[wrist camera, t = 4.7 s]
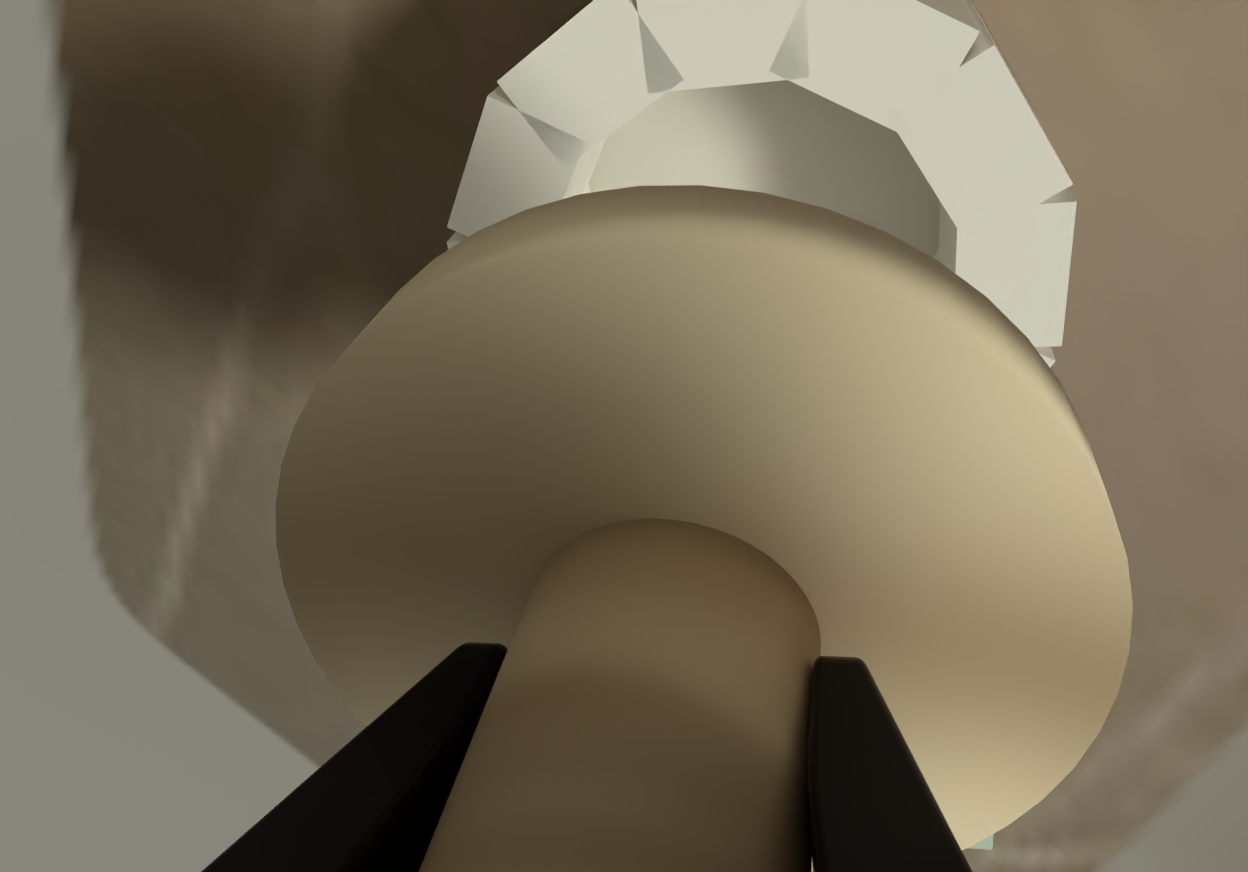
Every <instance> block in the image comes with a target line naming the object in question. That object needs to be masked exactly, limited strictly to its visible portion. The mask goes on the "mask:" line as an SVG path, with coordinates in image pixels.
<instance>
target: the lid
mask: <svg viewBox="0 0 1248 872" xmlns="http://www.w3.org/2000/svg"><path fill="white" fill-rule="evenodd" d="M276 537H277V550H278V555H279V561H280V566H281V571H282V577H283V582H284V586H285V589H286V592H287V595H288V598H289V601H290V604H291V607H292V610H293V613H294V616H295V619H296V622H297V624H298V626H299V628H300V630H301V632H302V634H303V636H304V638H305V640H306V642H307V644H308V646H309V648H310V650H311V652H312V654H313V656H314V658H315V660H316V662H317V663H318V665H319V666H320V668H321V669H322V671H323V672H324V674H325V675H326V677H327V678H328V680H329V681H330V683H331V684H332V686H333V687H334V689H335V691H336V692H337V694H338V695H339V696H340V697H341V698H342V700H343V701H344V702H345V703H346V704H347V706H348V707H349V708H350V709H351V710H352V712H353V713H354V714H355V715H356V717H357V718H358V719H359V720H360V721H361V723H362V724H363V725H364V726H365V727H367V726H368V725H369V724H370V723H372V722H373V721H374V720H375V719H376V718H377V717H378V716H380V715H381V714H382V713H383V712H384V711H385V710H386V709H388V708H389V707H390V706H391V705H392V704H393V703H394V702H396V701H397V700H398V699H399V698H400V697H401V696H402V695H404V694H405V693H406V692H407V691H408V690H409V689H410V688H412V687H413V686H414V685H415V684H416V683H417V682H418V681H420V680H421V679H422V678H423V677H424V676H425V675H426V674H427V673H429V672H430V671H431V670H432V669H433V668H434V667H435V666H437V665H438V664H439V663H440V662H441V661H442V660H443V659H445V658H446V657H447V656H448V655H449V654H450V653H451V652H453V651H454V650H455V649H456V648H457V647H459V646H460V645H462V644H464V643H469V642H475V643H499V644H502V645H504V646H506V647H507V649H508V651H507V653H506V656H505V658H504V661H503V663H502V666H501V668H500V671H499V673H498V675H497V678H496V680H495V683H494V685H493V688H492V690H491V693H490V695H489V698H488V700H487V703H486V705H485V708H484V710H483V713H482V715H481V718H480V720H479V723H478V725H477V728H476V730H475V733H474V735H473V738H472V740H471V743H470V745H469V748H468V750H467V753H466V755H465V758H464V760H463V763H462V765H461V767H460V770H459V772H458V775H457V777H456V780H455V782H454V785H453V787H452V790H451V792H450V795H449V797H448V800H447V802H446V805H445V807H444V810H443V812H442V815H441V817H440V820H439V822H438V825H437V827H436V830H435V832H434V835H433V837H432V840H431V842H430V845H429V847H428V850H427V852H426V855H425V857H424V859H423V862H422V864H421V867H420V869H419V872H813V864H812V845H811V831H810V817H809V801H808V785H807V749H808V735H809V721H810V708H811V694H812V680H813V667H814V661H815V660H816V658H818V657H819V656H840V657H858V658H860V659H862V660H863V661H864V662H865V664H866V665H867V667H868V669H869V671H870V673H871V675H872V677H873V678H874V680H875V682H876V684H877V686H878V688H879V690H880V692H881V694H882V696H883V698H884V700H885V702H886V704H887V706H888V708H889V710H890V712H891V714H892V716H893V718H894V719H895V721H896V723H897V725H898V727H899V729H900V731H901V733H902V735H903V737H904V739H905V741H906V743H907V745H908V747H909V749H910V751H911V753H912V755H913V757H914V759H915V760H916V762H917V764H918V766H919V768H920V770H921V772H922V774H923V776H924V778H925V780H926V782H927V784H928V786H929V788H930V790H931V792H932V794H933V796H934V798H935V799H936V801H937V803H938V805H939V807H940V809H941V811H942V813H943V815H944V817H945V819H946V821H947V823H948V825H949V827H950V829H951V831H952V833H953V835H954V837H955V839H956V840H957V842H958V844H959V846H960V848H961V850H964V849H966V848H969V847H971V846H973V845H974V844H976V843H978V842H980V841H982V840H983V839H985V838H987V837H989V836H990V835H992V834H994V833H996V832H997V831H999V830H1001V829H1003V828H1004V827H1006V826H1008V825H1009V824H1011V823H1012V822H1013V821H1015V820H1016V819H1017V818H1019V817H1020V816H1021V815H1023V814H1024V813H1025V812H1027V811H1028V810H1029V809H1031V808H1032V807H1033V806H1035V805H1036V804H1037V803H1039V802H1040V801H1041V800H1043V799H1044V798H1045V797H1046V796H1047V795H1048V794H1049V793H1050V792H1051V791H1052V790H1053V789H1054V788H1055V787H1056V786H1057V785H1058V784H1059V783H1060V782H1061V781H1062V780H1063V779H1064V778H1065V777H1066V776H1067V775H1068V774H1069V773H1070V772H1071V771H1072V770H1073V768H1074V767H1075V766H1076V764H1077V763H1078V762H1079V760H1080V759H1081V757H1082V756H1083V755H1084V753H1085V752H1086V751H1087V749H1088V748H1089V746H1090V745H1091V744H1092V742H1093V741H1094V739H1095V738H1096V737H1097V735H1098V734H1099V732H1100V730H1101V728H1102V726H1103V724H1104V722H1105V720H1106V718H1107V715H1108V713H1109V711H1110V709H1111V707H1112V705H1113V703H1114V701H1115V699H1116V697H1117V695H1118V692H1119V688H1120V684H1121V681H1122V677H1123V673H1124V670H1125V666H1126V662H1127V659H1128V655H1129V651H1130V637H1131V624H1132V611H1133V602H1132V594H1131V585H1130V577H1129V568H1128V560H1127V555H1126V552H1125V549H1124V546H1123V542H1122V539H1121V536H1120V533H1119V530H1118V526H1117V523H1116V520H1115V517H1114V514H1113V511H1112V507H1111V505H1110V502H1109V499H1108V496H1107V493H1106V490H1105V487H1104V485H1103V482H1102V479H1101V476H1100V473H1099V470H1098V468H1097V465H1096V462H1095V459H1094V456H1093V453H1092V450H1091V448H1090V445H1089V442H1088V439H1087V436H1086V433H1085V431H1084V428H1083V425H1082V423H1081V422H1080V420H1079V418H1078V416H1077V414H1076V412H1075V410H1074V408H1073V406H1072V404H1071V402H1070V400H1069V398H1068V396H1067V394H1066V392H1065V390H1064V388H1063V387H1062V385H1061V383H1060V381H1059V380H1058V378H1057V377H1056V375H1055V374H1054V373H1053V371H1052V370H1051V369H1050V367H1049V366H1048V365H1047V363H1046V362H1045V361H1044V359H1043V358H1042V356H1041V355H1040V354H1039V352H1038V351H1037V350H1036V348H1035V347H1034V346H1033V344H1032V343H1031V342H1030V340H1029V339H1028V338H1027V337H1026V336H1025V335H1024V334H1023V333H1022V332H1021V331H1020V330H1019V329H1018V328H1017V327H1016V326H1015V325H1014V324H1013V323H1012V322H1011V321H1010V320H1009V319H1008V318H1007V317H1006V316H1005V315H1004V314H1003V313H1002V312H1001V311H1000V310H999V309H998V308H997V307H996V306H995V305H994V304H993V303H992V302H991V301H990V300H989V299H988V298H987V297H986V296H985V295H983V294H982V293H981V292H979V291H978V290H977V289H975V288H974V287H973V286H971V285H970V284H969V283H967V282H966V281H965V280H963V279H962V278H961V277H959V276H958V275H957V274H955V273H954V272H953V271H951V270H950V269H949V268H947V267H946V266H945V265H943V264H942V263H941V262H939V261H938V260H936V259H934V258H932V257H930V256H928V255H927V254H925V253H923V252H921V251H919V250H918V249H916V248H914V247H912V246H910V245H909V244H907V243H905V242H903V241H901V240H899V239H898V238H896V237H894V236H892V235H890V234H889V233H887V232H885V231H883V230H880V229H878V228H875V227H872V226H870V225H867V224H865V223H862V222H860V221H857V220H855V219H852V218H849V217H847V216H844V215H842V214H839V213H837V212H834V211H832V210H829V209H826V208H823V207H819V206H815V205H811V204H807V203H803V202H799V201H795V200H791V199H787V198H783V197H779V196H775V195H771V194H767V193H763V192H754V191H746V190H737V189H729V188H721V187H712V186H704V185H665V186H634V187H627V188H620V189H613V190H606V191H599V192H592V193H585V194H579V195H575V196H572V197H568V198H565V199H561V200H558V201H554V202H551V203H547V204H544V205H540V206H537V207H533V208H530V209H526V210H524V211H522V212H519V213H517V214H515V215H513V216H510V217H508V218H506V219H504V220H501V221H499V222H497V223H495V224H492V225H490V226H488V227H486V228H483V229H481V230H479V231H477V232H475V233H474V234H472V235H471V236H469V237H467V238H466V239H464V240H463V241H461V242H460V243H458V244H456V245H455V246H453V247H452V248H450V249H449V250H447V251H446V252H444V253H442V254H441V255H439V256H438V257H436V258H435V259H433V260H432V261H431V262H430V263H429V264H428V265H427V266H426V267H424V268H423V269H422V270H421V271H420V272H419V273H418V274H417V275H415V276H414V277H413V278H412V279H411V280H410V281H409V282H408V283H406V284H405V285H404V286H403V287H402V288H401V289H400V290H399V291H398V292H397V293H396V294H395V295H394V296H393V297H392V298H391V300H390V301H389V302H388V303H387V304H386V305H385V306H384V307H383V308H382V310H381V311H380V312H379V313H378V314H377V315H376V316H375V317H374V318H373V320H372V321H371V322H370V323H369V324H368V325H367V326H366V327H365V328H364V330H363V331H362V332H361V333H360V334H359V335H358V336H357V337H356V338H355V339H354V341H353V342H352V343H351V344H350V345H349V346H348V347H347V348H346V349H345V351H344V352H343V353H342V354H341V356H340V357H339V358H338V359H337V361H336V362H335V363H334V364H333V366H332V367H331V368H330V369H329V371H328V372H327V373H326V374H325V376H324V377H323V378H322V379H321V381H320V382H319V383H318V384H317V385H316V387H315V389H314V391H313V393H312V394H311V396H310V398H309V400H308V402H307V404H306V405H305V407H304V409H303V411H302V413H301V415H300V416H299V418H298V420H297V422H296V424H295V426H294V429H293V432H292V435H291V438H290V441H289V444H288V447H287V450H286V453H285V456H284V459H283V462H282V465H281V472H280V479H279V486H278V493H277V500H276Z"/></svg>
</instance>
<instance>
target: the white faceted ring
mask: <svg viewBox="0 0 1248 872" xmlns="http://www.w3.org/2000/svg"><path fill="white" fill-rule="evenodd" d="M497 83H498V84H499V86H498V87H497V88H496V89H495V90H494V91H492V92H491V93H490V94H489V95H488V96H487V99H486V102H485V105H484V108H483V112H482V115H481V118H480V121H479V125H478V128H477V131H476V134H475V137H474V141H473V144H472V147H471V150H470V154H469V157H468V160H467V163H466V167H465V170H464V173H463V176H462V180H461V183H460V186H459V189H458V192H457V196H456V199H455V202H454V205H453V209H452V212H451V215H450V218H449V222H448V225H447V227H448V228H450V229H452V230H454V231H456V232H455V233H454V234H453V235H452V237H451V238H450V239H449V240H448V241H447V246H448V250H449V249H450V248H452V247H453V246H455V245H456V244H458V243H460V242H461V241H463V240H464V239H466V238H467V237H469V236H471V235H472V234H474V233H475V232H477V231H479V230H481V229H483V228H486V227H488V226H490V225H492V224H495V223H497V222H499V221H501V220H504V219H506V218H508V217H510V216H513V215H515V214H517V213H519V212H522V211H524V210H526V209H530V208H533V207H537V206H540V205H544V204H547V203H551V202H554V201H558V200H561V199H565V198H568V197H572V196H575V195H579V194H585V193H592V192H599V191H606V190H613V189H620V188H627V187H634V186H665V185H704V186H712V187H721V188H729V189H737V190H746V191H754V192H763V193H767V194H771V195H775V196H779V197H783V198H787V199H791V200H795V201H799V202H803V203H807V204H811V205H815V206H819V207H823V208H826V209H829V210H832V211H834V212H837V213H839V214H842V215H844V216H847V217H849V218H852V219H855V220H857V221H860V222H862V223H865V224H867V225H870V226H872V227H875V228H878V229H880V230H883V231H885V232H887V233H889V234H890V235H892V236H894V237H896V238H898V239H899V240H901V241H903V242H905V243H907V244H909V245H910V246H912V247H914V248H916V249H918V250H919V251H921V252H923V253H925V254H927V255H928V256H930V257H932V258H934V259H936V260H938V261H939V262H941V263H942V264H943V265H945V266H946V267H947V268H949V269H950V270H951V271H953V272H954V273H955V274H957V275H958V276H959V277H961V278H962V279H963V280H965V281H966V282H967V283H969V284H970V285H971V286H973V287H974V288H975V289H977V290H978V291H979V292H981V293H982V294H983V295H985V296H986V297H987V298H988V299H989V300H990V301H991V302H992V303H993V304H994V305H995V306H996V307H997V308H998V309H999V310H1000V311H1001V312H1002V313H1003V314H1004V315H1005V316H1006V317H1007V318H1008V319H1009V320H1010V321H1011V322H1012V323H1013V324H1014V325H1015V326H1016V327H1017V328H1018V329H1019V330H1020V331H1021V332H1022V333H1023V334H1024V335H1025V336H1026V337H1027V338H1028V339H1029V340H1030V342H1031V343H1032V344H1033V346H1034V347H1035V348H1036V350H1037V351H1038V352H1039V354H1040V355H1041V356H1042V358H1043V359H1044V361H1045V362H1046V363H1047V365H1048V366H1049V367H1051V366H1052V365H1053V363H1054V362H1055V358H1054V355H1053V352H1052V349H1051V346H1062V339H1063V329H1064V320H1065V310H1066V300H1067V290H1068V281H1069V271H1070V261H1071V251H1072V242H1073V232H1074V222H1075V212H1076V203H1077V201H1076V199H1075V198H1074V196H1073V194H1072V192H1071V190H1070V188H1069V187H1070V186H1071V185H1073V183H1072V181H1071V180H1070V178H1069V176H1068V174H1067V172H1066V170H1065V169H1064V167H1063V165H1062V163H1061V161H1060V159H1059V157H1058V156H1057V154H1056V152H1055V150H1054V148H1053V146H1052V145H1051V143H1050V141H1049V139H1048V137H1047V135H1046V134H1045V132H1044V130H1043V128H1042V126H1041V124H1040V123H1039V121H1038V119H1037V117H1036V115H1035V113H1034V111H1033V110H1032V108H1031V106H1030V104H1029V102H1028V101H1027V99H1026V97H1025V95H1024V94H1023V92H1022V90H1021V88H1020V86H1019V85H1018V83H1017V81H1016V79H1015V78H1014V76H1013V74H1012V72H1011V71H1010V69H1009V67H1008V65H1007V63H1006V62H1005V60H1004V58H1003V56H1002V55H1001V53H1000V51H999V49H998V47H997V46H996V44H995V42H994V40H993V39H992V37H991V35H990V33H989V31H988V30H987V28H986V26H985V24H984V23H983V21H982V19H981V17H980V15H979V14H978V12H977V10H976V8H975V7H974V5H973V3H972V1H971V0H593V1H592V2H591V3H590V4H588V5H587V6H586V7H585V8H584V9H582V10H581V11H580V12H579V13H578V14H576V15H575V16H574V17H573V18H572V19H571V20H569V21H568V22H567V23H566V24H565V25H563V26H562V27H561V28H560V29H559V30H557V31H556V32H555V33H554V34H553V35H551V36H550V37H549V38H548V39H547V40H546V41H544V42H543V43H542V44H541V45H540V46H538V47H537V48H536V49H535V50H534V51H532V52H531V53H530V54H529V55H528V56H526V57H525V58H524V59H523V60H522V61H521V62H519V63H518V64H517V65H516V66H515V67H513V68H512V69H511V70H510V71H509V72H507V73H506V74H505V75H504V76H503V77H502V78H500V79H499V80H498V81H497Z"/></svg>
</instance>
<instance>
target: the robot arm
mask: <svg viewBox="0 0 1248 872" xmlns="http://www.w3.org/2000/svg"><path fill="white" fill-rule="evenodd" d="M507 651H508V649H507V647H506V646H504V645H502V644H499V643H475V642H469V643H464V644H462V645H460V646H459V647H457V648H456V649H455V650H454V651H453V652H451V653H450V654H449V655H448V656H447V657H446V658H445V659H443V660H442V661H441V662H440V663H439V664H438V665H437V666H435V667H434V668H433V669H432V670H431V671H430V672H429V673H427V674H426V675H425V676H424V677H423V678H422V679H421V680H420V681H418V682H417V683H416V684H415V685H414V686H413V687H412V688H410V689H409V690H408V691H407V692H406V693H405V694H404V695H402V696H401V697H400V698H399V699H398V700H397V701H396V702H394V703H393V704H392V705H391V706H390V707H389V708H388V709H386V710H385V711H384V712H383V713H382V714H381V715H380V716H378V717H377V718H376V719H375V720H374V721H373V722H372V723H370V724H369V725H368V726H367V727H366V728H365V729H364V730H362V731H361V732H360V733H359V734H358V735H357V736H356V737H354V738H353V739H352V740H351V741H350V742H349V743H348V744H346V745H345V746H344V747H343V748H342V749H341V750H340V751H338V752H337V753H336V754H335V755H334V756H333V757H332V758H330V759H329V760H328V761H327V762H326V763H325V764H324V765H322V766H321V767H320V768H319V769H318V770H317V771H316V772H314V773H313V774H312V775H311V776H310V777H309V778H308V779H307V780H305V781H304V782H303V783H302V784H301V785H300V786H299V787H297V788H296V789H295V790H294V791H293V792H292V793H291V794H289V795H288V796H287V797H286V798H285V799H284V800H283V801H282V802H280V803H279V804H278V805H277V806H276V807H275V808H274V809H272V810H271V811H270V812H269V813H268V814H267V815H266V816H264V818H262V819H261V820H260V821H259V822H258V823H256V824H255V825H254V826H253V827H252V828H251V829H249V830H248V831H247V832H246V833H245V834H244V835H243V836H241V837H240V838H239V839H238V840H237V841H236V842H235V843H234V844H232V845H231V846H230V847H229V848H228V849H227V850H225V852H223V853H222V854H221V855H220V856H219V857H218V858H216V859H215V860H214V861H213V862H212V863H211V864H209V865H208V866H207V867H206V868H205V869H204V870H203V871H201V872H419V869H420V867H421V864H422V862H423V859H424V857H425V855H426V852H427V850H428V847H429V845H430V842H431V840H432V837H433V835H434V832H435V830H436V827H437V825H438V822H439V820H440V817H441V815H442V812H443V810H444V807H445V805H446V802H447V800H448V797H449V795H450V792H451V790H452V787H453V785H454V782H455V780H456V777H457V775H458V772H459V770H460V767H461V765H462V763H463V760H464V758H465V755H466V753H467V750H468V748H469V745H470V743H471V740H472V738H473V735H474V733H475V730H476V728H477V725H478V723H479V720H480V718H481V715H482V713H483V710H484V708H485V705H486V703H487V700H488V698H489V695H490V693H491V690H492V688H493V685H494V683H495V680H496V678H497V675H498V673H499V671H500V668H501V666H502V663H503V661H504V658H505V656H506V653H507ZM807 785H808V801H809V817H810V831H811V845H812V864H813V872H972V870H971V868H970V866H969V864H968V862H967V860H966V858H965V856H964V854H963V852H962V850H961V848H960V846H959V844H958V842H957V840H956V839H955V837H954V835H953V833H952V831H951V829H950V827H949V825H948V823H947V821H946V819H945V817H944V815H943V813H942V811H941V809H940V807H939V805H938V803H937V801H936V799H935V798H934V796H933V794H932V792H931V790H930V788H929V786H928V784H927V782H926V780H925V778H924V776H923V774H922V772H921V770H920V768H919V766H918V764H917V762H916V760H915V759H914V757H913V755H912V753H911V751H910V749H909V747H908V745H907V743H906V741H905V739H904V737H903V735H902V733H901V731H900V729H899V727H898V725H897V723H896V721H895V719H894V718H893V716H892V714H891V712H890V710H889V708H888V706H887V704H886V702H885V700H884V698H883V696H882V694H881V692H880V690H879V688H878V686H877V684H876V682H875V680H874V678H873V677H872V675H871V673H870V671H869V669H868V667H867V665H866V664H865V662H864V661H863V660H862V659H860V658H858V657H840V656H819V657H818V658H816V660H815V661H814V667H813V680H812V694H811V708H810V721H809V735H808V749H807Z"/></svg>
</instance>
